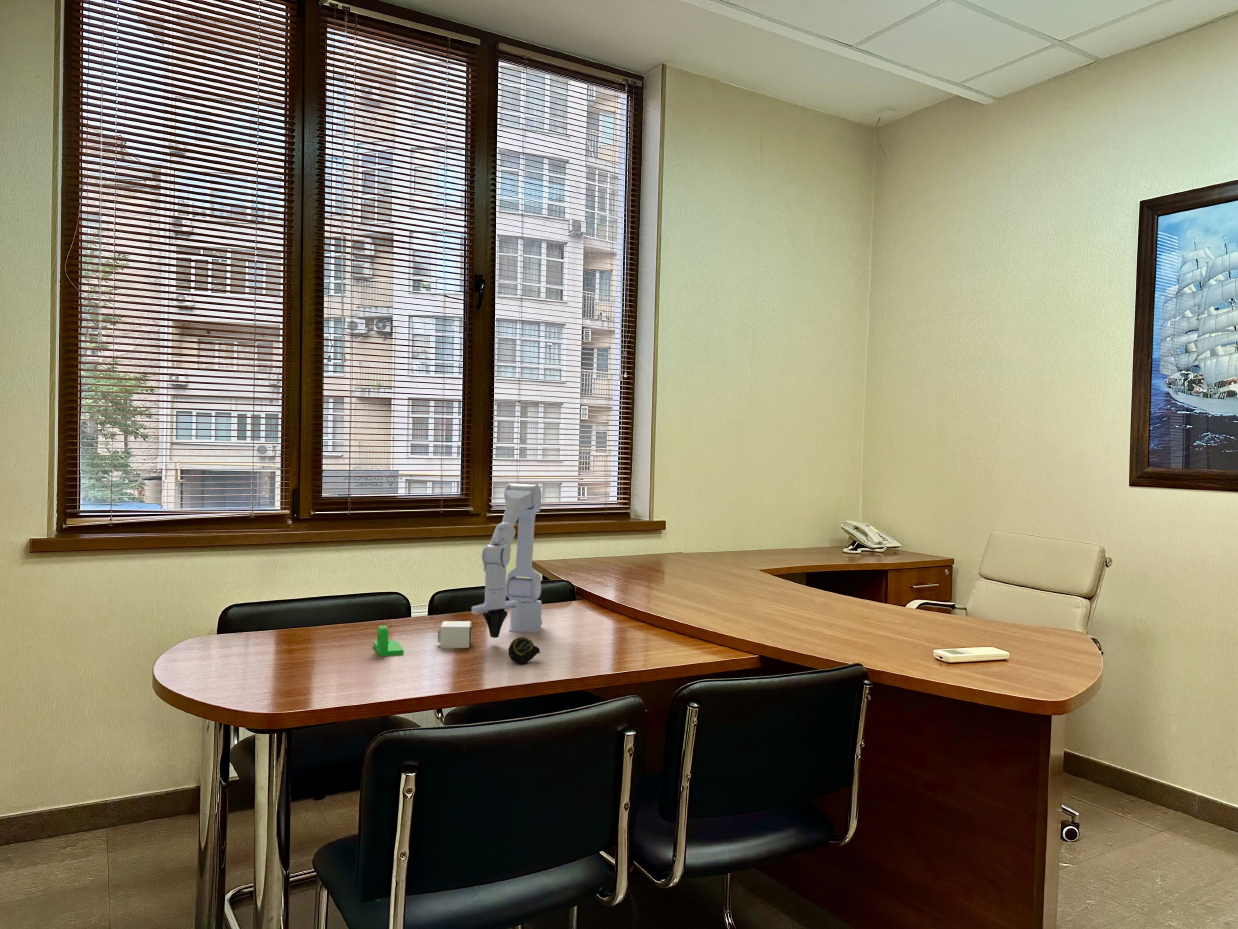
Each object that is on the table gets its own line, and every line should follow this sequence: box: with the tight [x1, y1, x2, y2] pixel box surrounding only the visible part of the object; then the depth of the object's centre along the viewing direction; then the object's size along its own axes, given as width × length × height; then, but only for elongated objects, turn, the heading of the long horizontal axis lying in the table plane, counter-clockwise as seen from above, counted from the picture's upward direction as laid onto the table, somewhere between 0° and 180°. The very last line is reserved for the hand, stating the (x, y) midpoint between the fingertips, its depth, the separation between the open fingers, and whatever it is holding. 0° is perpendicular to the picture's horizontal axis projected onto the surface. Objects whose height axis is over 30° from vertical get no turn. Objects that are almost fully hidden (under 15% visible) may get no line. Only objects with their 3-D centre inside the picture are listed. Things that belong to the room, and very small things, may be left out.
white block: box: [440, 620, 473, 649], centre depth 238 cm, size 8×7×6 cm
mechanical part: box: [373, 625, 405, 657], centre depth 230 cm, size 12×6×8 cm, turn 23°
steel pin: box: [437, 628, 473, 644], centre depth 238 cm, size 9×4×4 cm, turn 97°
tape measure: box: [507, 636, 541, 666], centre depth 221 cm, size 7×7×4 cm
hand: (494, 637), depth 240 cm, fingers closed
